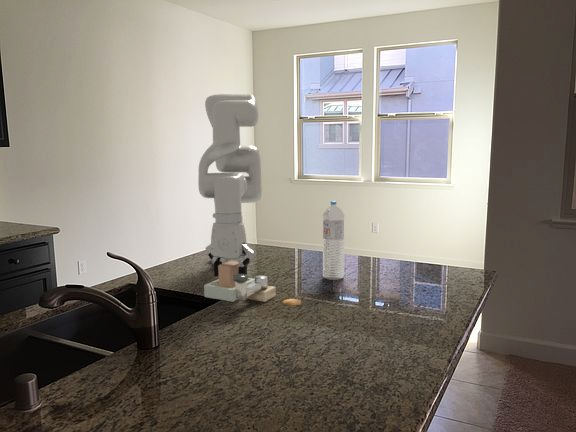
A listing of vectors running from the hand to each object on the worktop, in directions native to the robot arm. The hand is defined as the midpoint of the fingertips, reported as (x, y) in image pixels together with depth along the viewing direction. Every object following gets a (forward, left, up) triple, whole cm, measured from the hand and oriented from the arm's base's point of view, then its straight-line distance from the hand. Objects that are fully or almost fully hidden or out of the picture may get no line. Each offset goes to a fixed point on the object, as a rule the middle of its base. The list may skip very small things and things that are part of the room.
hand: (230, 277), depth 144 cm
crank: (+10, -4, -2) cm, 11 cm away
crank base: (+15, +1, -5) cm, 16 cm away
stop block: (0, 0, -4) cm, 4 cm away
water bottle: (+20, +29, -5) cm, 36 cm away
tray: (0, 0, -5) cm, 5 cm away
